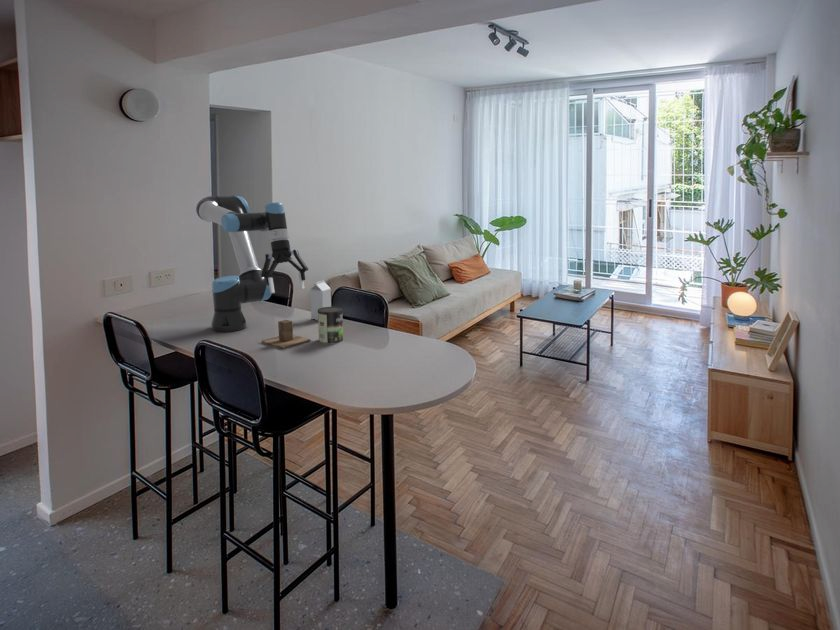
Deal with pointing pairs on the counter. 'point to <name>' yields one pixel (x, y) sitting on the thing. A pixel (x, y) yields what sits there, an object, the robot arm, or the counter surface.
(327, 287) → the milk carton
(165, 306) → the counter surface
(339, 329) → the coffee can
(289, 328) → the wooden peg stand
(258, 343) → the mat
